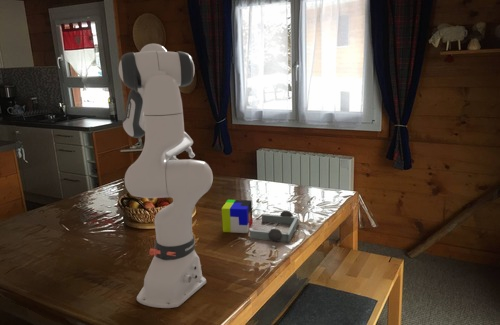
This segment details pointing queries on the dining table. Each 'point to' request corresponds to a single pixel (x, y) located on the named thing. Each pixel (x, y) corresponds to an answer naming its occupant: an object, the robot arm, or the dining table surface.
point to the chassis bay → (275, 233)
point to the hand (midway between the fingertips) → (187, 160)
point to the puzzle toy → (237, 216)
